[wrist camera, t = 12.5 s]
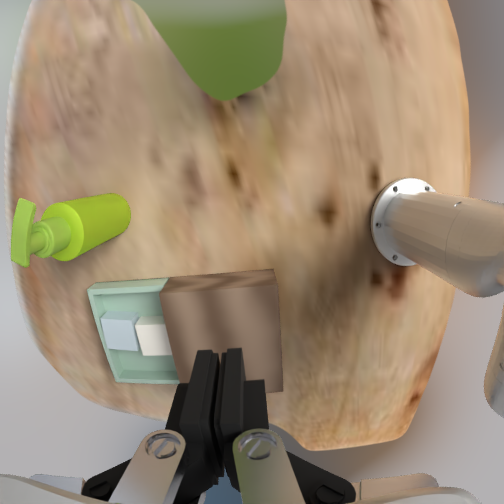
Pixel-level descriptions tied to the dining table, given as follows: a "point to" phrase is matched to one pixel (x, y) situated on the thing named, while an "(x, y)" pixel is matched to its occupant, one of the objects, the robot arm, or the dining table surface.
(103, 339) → the box
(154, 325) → the cream square block
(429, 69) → the dining table surface
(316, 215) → the dining table surface
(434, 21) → the dining table surface
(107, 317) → the pale blue square block
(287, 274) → the dining table surface
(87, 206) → the soap dispenser
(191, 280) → the brown wooden block
